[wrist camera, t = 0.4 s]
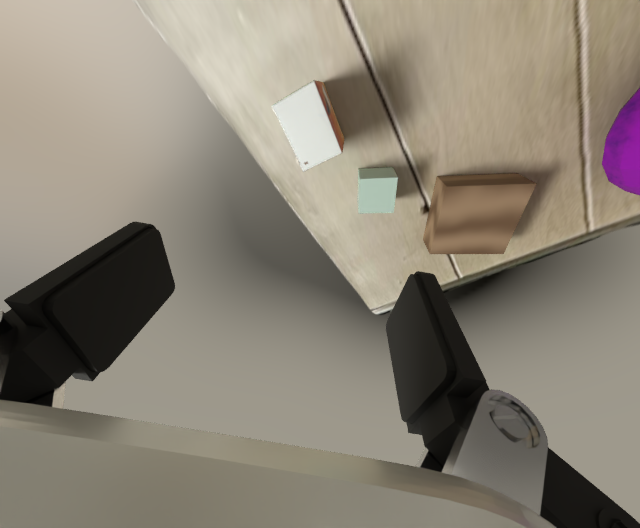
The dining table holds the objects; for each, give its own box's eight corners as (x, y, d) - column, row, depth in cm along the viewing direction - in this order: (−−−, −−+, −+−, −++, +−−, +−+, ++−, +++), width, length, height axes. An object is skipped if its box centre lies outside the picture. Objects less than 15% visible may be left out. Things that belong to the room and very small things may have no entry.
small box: (345, 139, 37) (343, 154, 29) (313, 154, 39) (303, 173, 30) (323, 80, 33) (315, 78, 24) (288, 100, 35) (269, 105, 26)
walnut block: (436, 176, 39) (446, 186, 35) (516, 173, 37) (536, 183, 33) (423, 239, 46) (430, 254, 42) (489, 238, 45) (503, 253, 41)
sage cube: (358, 168, 39) (359, 179, 35) (392, 167, 39) (397, 177, 34) (357, 200, 43) (358, 213, 38) (388, 199, 42) (393, 212, 38)
